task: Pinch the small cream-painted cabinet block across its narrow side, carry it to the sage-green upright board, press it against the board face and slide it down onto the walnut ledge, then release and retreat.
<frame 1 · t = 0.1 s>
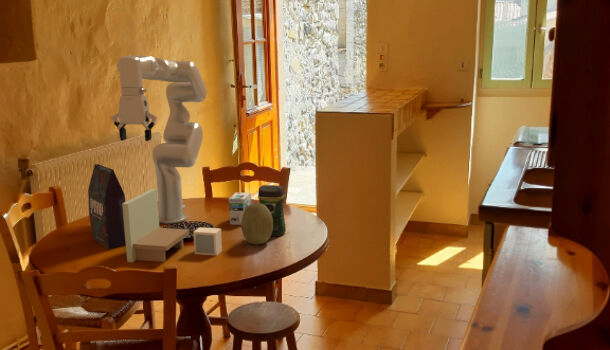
hand: (135, 140, 214), 37 cm above the table, tool pointing down, fingers open, 9 cm apart
cabinet block: (208, 252, 206), on the table
light bulb box: (241, 221, 241), on the table
fruit: (257, 243, 214), on the table
coffee jar: (272, 233, 225), on the table
wall board: (144, 251, 207), on the table
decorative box: (110, 242, 219), on the table
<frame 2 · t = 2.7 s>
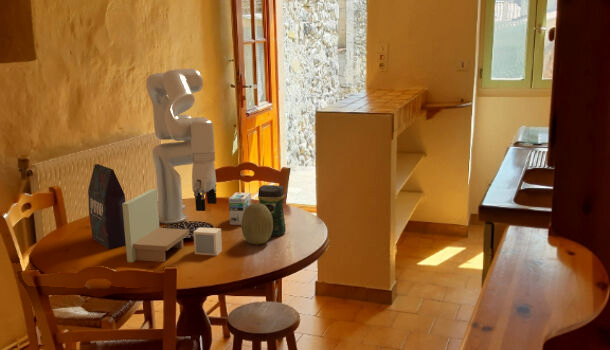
hand: (206, 207, 202), 16 cm above the table, tool pointing down, fingers open, 9 cm apart
nothing on the table moved.
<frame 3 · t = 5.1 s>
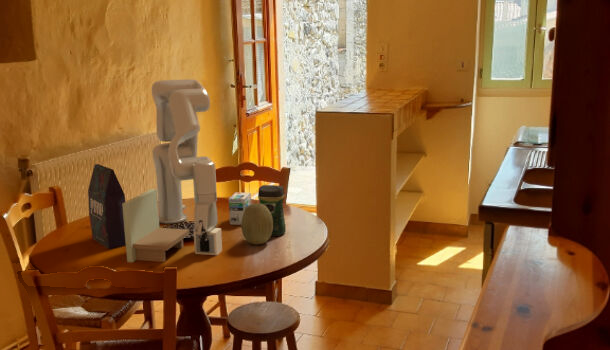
hand: (208, 247, 206), 2 cm above the table, tool pointing down, fingers closed on cabinet block, 5 cm apart
cabinet block: (208, 252, 206), on the table, touching gripper
everything else where it was.
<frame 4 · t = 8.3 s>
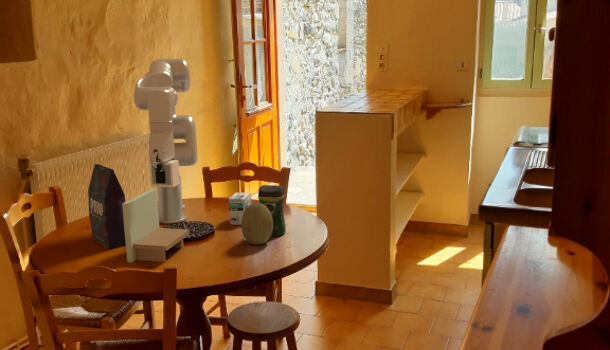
hand: (164, 180, 199), 26 cm above the table, tool pointing down, fingers closed on cabinet block, 5 cm apart
cabinet block: (165, 185, 200), point 24 cm above the table, touching gripper
everything else where it was.
when the fingers open (9 cm above the table, at t = 11.9 s): cabinet block drops 1 cm, resting on wall board.
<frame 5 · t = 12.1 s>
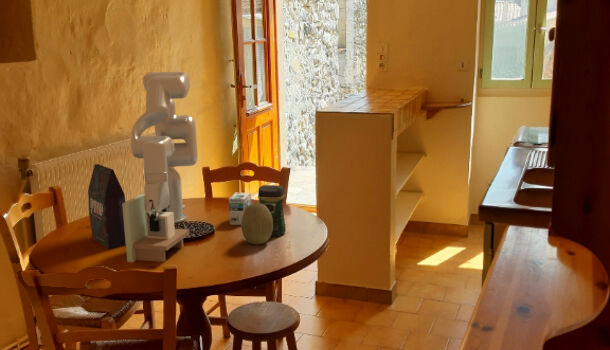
hand: (160, 227, 204), 9 cm above the table, tool pointing down, fingers open, 7 cm apart
cabinet block: (161, 236, 205), point 6 cm above the table, touching wall board
everything else where it was.
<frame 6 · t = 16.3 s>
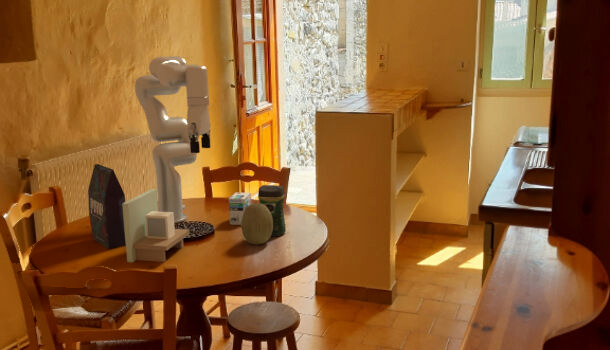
hand: (200, 150, 211), 33 cm above the table, tool pointing down, fingers open, 9 cm apart
nothing on the table moved.
at the end: cabinet block inside the target area on the wall board (1.0 cm from its centre), point 6.0 cm above the wall board's base; cabinet block tilted 0°; the gripper is holding nothing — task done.
